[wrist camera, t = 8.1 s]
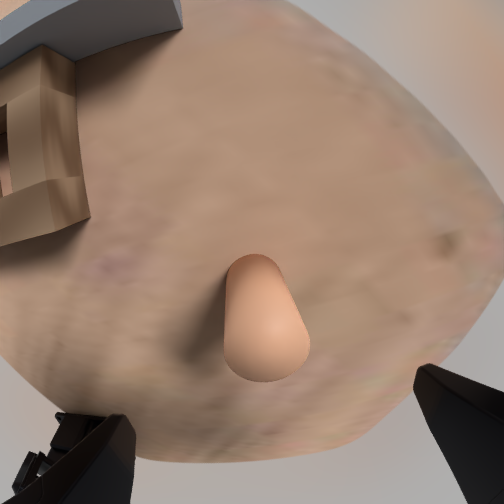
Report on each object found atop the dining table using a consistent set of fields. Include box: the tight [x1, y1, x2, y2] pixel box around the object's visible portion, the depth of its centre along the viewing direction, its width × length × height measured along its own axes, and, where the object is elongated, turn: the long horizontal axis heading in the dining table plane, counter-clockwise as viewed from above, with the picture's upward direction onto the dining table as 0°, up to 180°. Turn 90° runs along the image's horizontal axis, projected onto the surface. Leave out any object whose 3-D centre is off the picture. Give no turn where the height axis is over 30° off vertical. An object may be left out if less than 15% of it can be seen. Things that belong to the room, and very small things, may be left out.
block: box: [0, 45, 91, 246], centre depth 12 cm, size 10×10×4 cm
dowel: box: [224, 254, 310, 382], centre depth 14 cm, size 3×3×7 cm
